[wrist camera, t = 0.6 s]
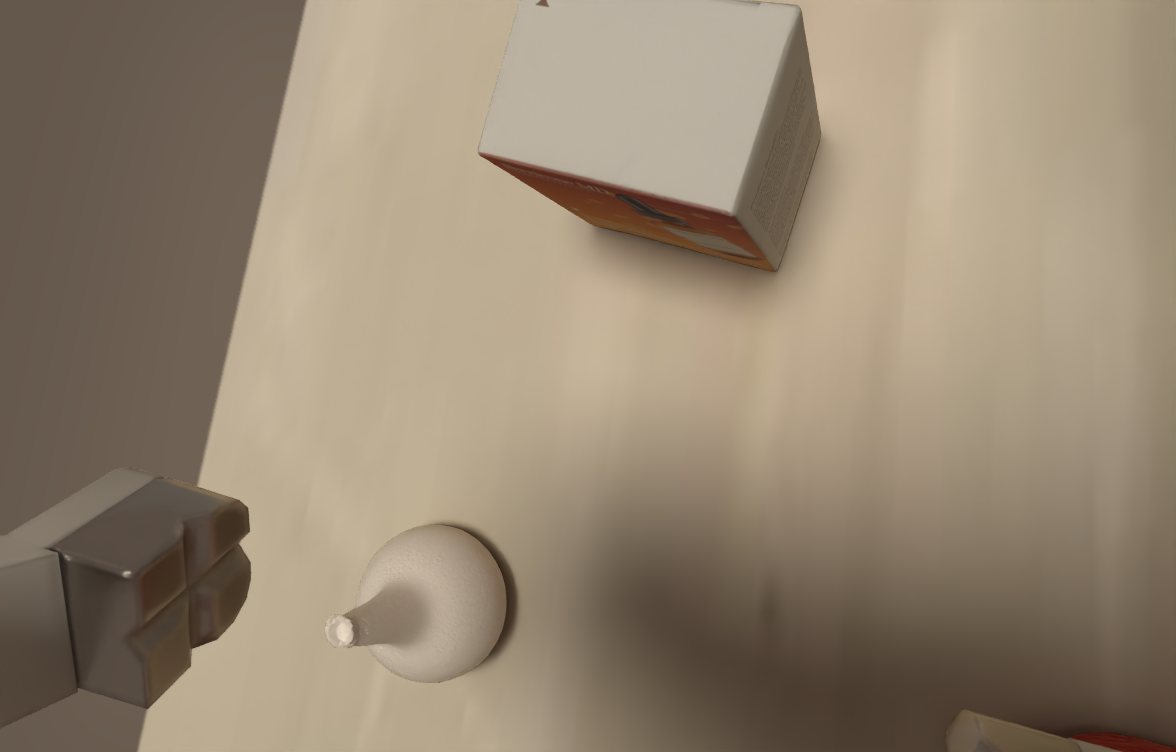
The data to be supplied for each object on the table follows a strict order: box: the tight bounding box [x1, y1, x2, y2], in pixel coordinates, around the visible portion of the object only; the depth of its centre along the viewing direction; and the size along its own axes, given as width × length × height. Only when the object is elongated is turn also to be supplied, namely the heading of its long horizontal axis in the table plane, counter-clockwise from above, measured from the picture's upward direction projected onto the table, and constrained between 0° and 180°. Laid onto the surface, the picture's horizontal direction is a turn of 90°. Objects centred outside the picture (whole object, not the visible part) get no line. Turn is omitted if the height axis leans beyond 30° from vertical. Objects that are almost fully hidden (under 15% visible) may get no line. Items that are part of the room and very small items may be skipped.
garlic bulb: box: [324, 525, 506, 683], centre depth 31 cm, size 6×6×8 cm
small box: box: [478, 0, 821, 271], centre depth 26 cm, size 8×6×10 cm
